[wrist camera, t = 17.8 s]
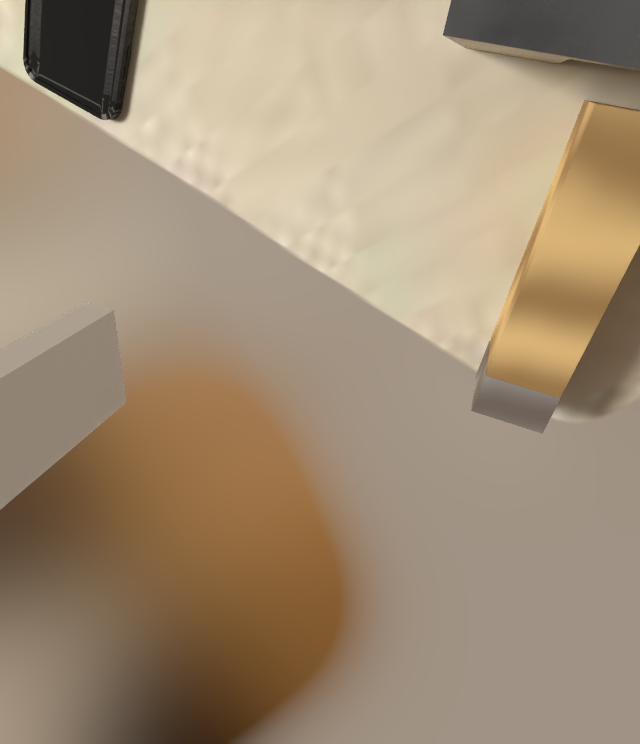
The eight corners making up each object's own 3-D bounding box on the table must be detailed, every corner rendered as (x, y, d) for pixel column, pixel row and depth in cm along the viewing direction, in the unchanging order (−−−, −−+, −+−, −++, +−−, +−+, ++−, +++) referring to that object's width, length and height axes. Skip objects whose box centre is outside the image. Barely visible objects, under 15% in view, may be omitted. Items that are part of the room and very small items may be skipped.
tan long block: (583, 100, 27) (595, 103, 23) (674, 116, 26) (703, 123, 22) (476, 373, 37) (471, 410, 33) (539, 392, 36) (542, 433, 32)
